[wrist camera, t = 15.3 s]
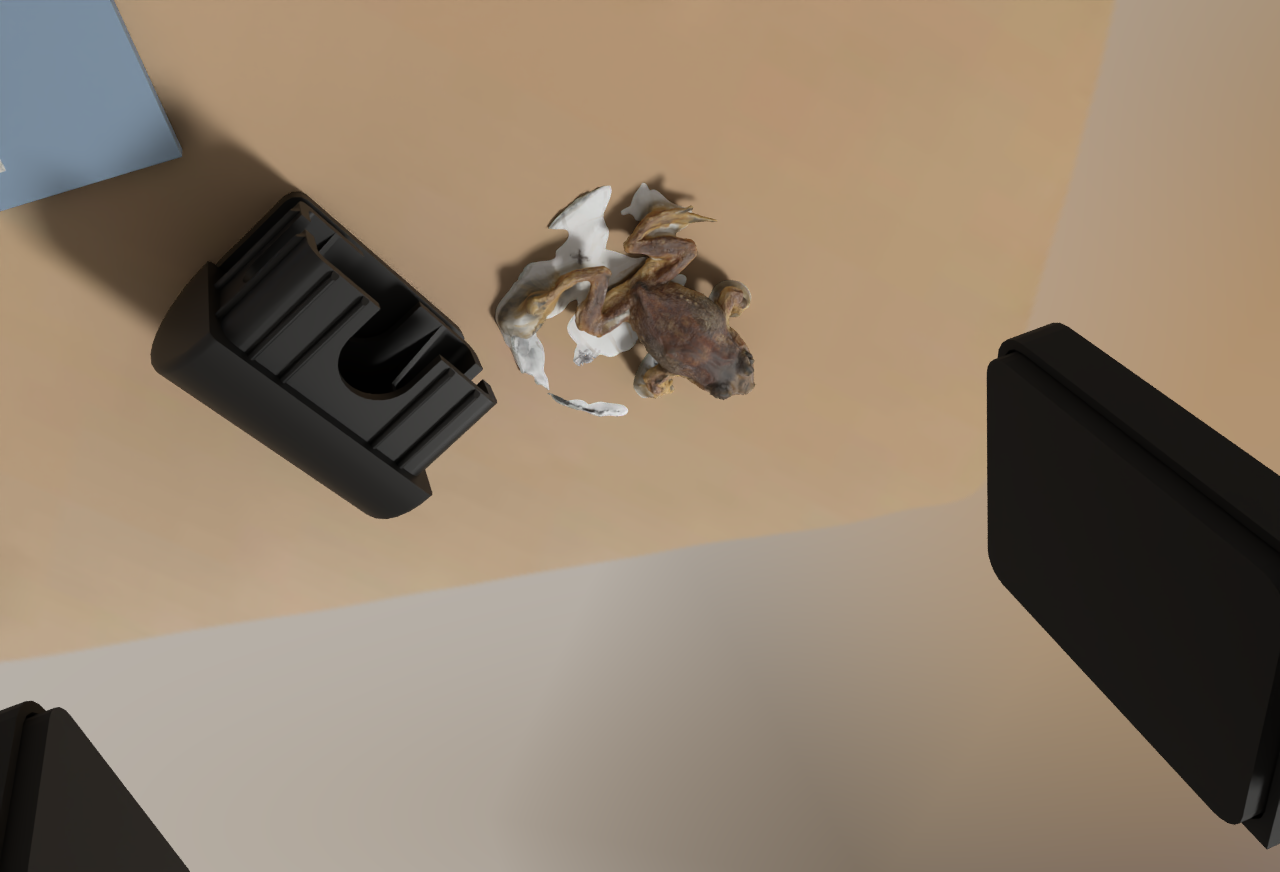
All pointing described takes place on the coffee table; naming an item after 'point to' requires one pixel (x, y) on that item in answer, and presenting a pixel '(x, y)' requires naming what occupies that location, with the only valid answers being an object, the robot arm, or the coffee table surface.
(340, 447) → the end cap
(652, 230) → the frog figurine
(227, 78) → the coffee table surface
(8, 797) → the robot arm
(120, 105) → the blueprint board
